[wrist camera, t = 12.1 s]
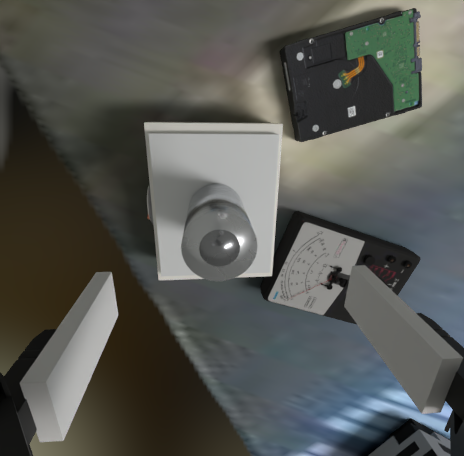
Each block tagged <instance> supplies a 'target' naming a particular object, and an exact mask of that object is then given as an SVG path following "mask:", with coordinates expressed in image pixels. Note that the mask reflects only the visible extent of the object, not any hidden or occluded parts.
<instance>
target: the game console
mask: <svg viewBox="0 0 464 456" xmlns="http://www.w3.org/2000/svg"><path fill="white" fill-rule="evenodd" d="M368 456H451V453H450V440H449V439H447V438H445V437H443V436H442V435H440V434H438V433H436V432H434V431H433V430H431V429H429V428H427V427H425V426H424V425H422V424H420V423H418V422H416V421H415V420H413V419H410V420H409V421H407V422H406V423H405V424H404V425H402V426H401V427H400V428H399V429H398V430H396V431H395V432H394V433H393V434H391V435H390V439H388V440H387V441H386V442H385V443H383V444H382V445H381V446H380V447H378V448H377V449H376V450H375V451H373V452H372V453H371V454H370V455H368Z"/></svg>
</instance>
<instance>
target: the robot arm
mask: <svg viewBox="0 0 464 456" xmlns="http://www.w3.org/2000/svg"><path fill="white" fill-rule="evenodd" d="M344 307H345V308H346V310H347V311H348V312H349V314H350V315H351V316H352V318H353V319H354V321H355V322H356V323H357V325H358V326H359V328H360V329H361V330H362V332H363V333H364V334H365V336H366V337H367V339H368V340H369V341H370V343H371V344H372V345H373V347H374V348H375V350H376V351H377V352H378V354H379V355H380V356H381V358H382V359H383V361H384V362H385V363H386V365H387V366H388V368H389V369H390V370H391V372H392V373H393V374H394V376H395V377H396V379H397V380H398V381H399V383H400V384H401V385H402V387H403V388H404V390H405V391H406V392H407V394H408V395H409V397H410V398H411V399H412V401H413V402H414V403H415V405H416V406H417V408H418V409H419V410H420V412H421V413H422V414H425V413H438V412H441V410H442V408H443V405H444V403H445V401H446V402H447V403H448V404H449V406H450V407H451V408H452V409H453V411H452V413H451V415H450V418H449V420H448V422H447V425H446V427H445V430H444V431H446V432H448V431H449V428H450V453H451V456H464V348H463V347H462V346H461V345H460V344H459V343H458V342H457V341H455V340H454V339H453V338H452V337H450V335H449V334H448V333H447V332H446V331H444V330H442V328H441V327H440V326H439V325H438V324H437V323H436V322H434V321H433V320H432V319H430V318H428V317H427V316H425V315H423V314H421V313H415V312H414V311H413V310H412V309H411V308H410V307H409V306H408V305H407V304H406V303H405V302H403V301H402V300H401V299H400V298H399V297H398V296H397V295H396V294H395V293H394V292H393V291H392V290H391V289H390V288H389V287H388V286H386V285H385V284H384V283H383V282H382V281H381V280H380V279H379V278H378V277H377V276H376V275H375V274H374V273H373V272H372V271H371V270H370V269H368V268H367V267H366V266H365V265H359V266H352V269H351V274H350V279H349V284H348V289H347V294H346V299H345V304H344ZM117 317H118V310H117V304H116V297H115V291H114V285H113V278H112V272H96V274H95V275H94V277H93V278H92V279H91V281H90V282H89V284H88V285H87V287H86V288H85V290H84V291H83V292H82V294H81V295H80V297H79V298H78V300H77V301H76V303H75V304H74V305H73V307H72V308H71V310H70V311H69V313H68V314H67V315H66V317H65V318H64V320H63V321H62V323H61V324H60V326H59V327H58V328H57V329H51V330H44V331H43V332H42V333H40V334H39V335H38V336H36V337H35V338H34V339H33V340H32V341H31V342H30V344H29V345H28V346H27V347H26V349H25V351H23V353H22V354H21V355H20V357H19V359H18V360H17V361H16V362H15V363H14V364H13V366H12V367H11V368H10V370H9V371H8V372H7V374H6V375H5V376H3V375H2V374H1V373H0V456H33V454H32V451H31V448H30V445H29V444H30V442H31V440H32V438H33V436H34V434H35V432H37V435H38V438H39V441H40V442H48V441H49V442H50V441H63V440H64V437H65V436H66V433H67V431H68V429H69V427H70V424H71V422H72V420H73V418H74V415H75V413H76V411H77V408H78V406H79V404H80V401H81V399H82V397H83V395H84V392H85V390H86V388H87V386H88V383H89V381H90V379H91V376H92V374H93V372H94V369H95V367H96V365H97V363H98V360H99V358H100V355H101V353H102V351H103V349H104V347H105V344H106V342H107V340H108V337H109V335H110V333H111V330H112V328H113V326H114V324H115V321H116V319H117Z"/></svg>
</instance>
